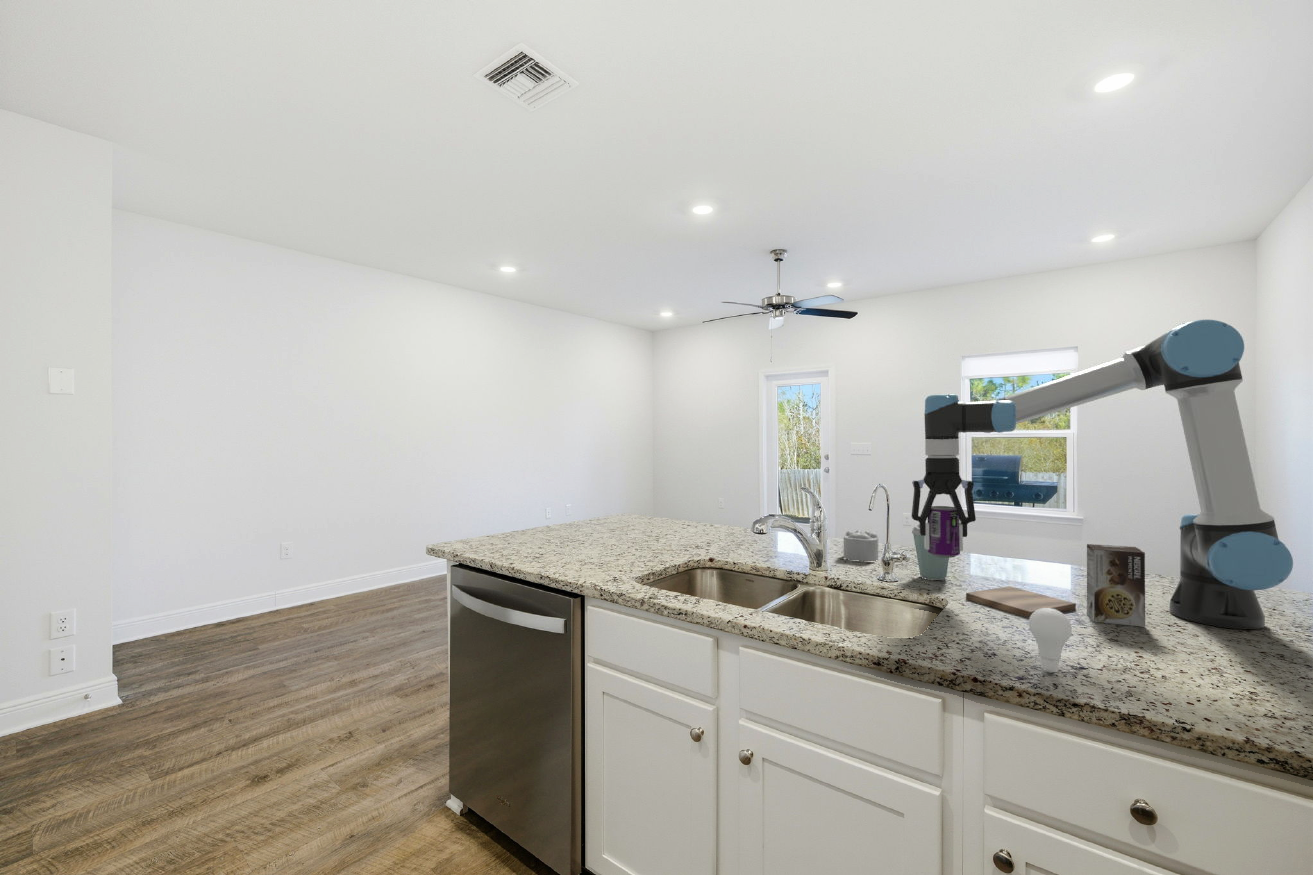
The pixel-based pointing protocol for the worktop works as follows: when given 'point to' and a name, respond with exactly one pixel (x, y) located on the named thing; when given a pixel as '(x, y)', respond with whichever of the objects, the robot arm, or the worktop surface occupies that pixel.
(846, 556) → the lumpy-topped squat cylinder
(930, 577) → the disposable coffee cup
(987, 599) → the walnut board
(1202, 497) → the robot arm
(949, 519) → the beverage can
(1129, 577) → the coffee box
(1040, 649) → the lightbulb
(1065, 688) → the worktop surface
